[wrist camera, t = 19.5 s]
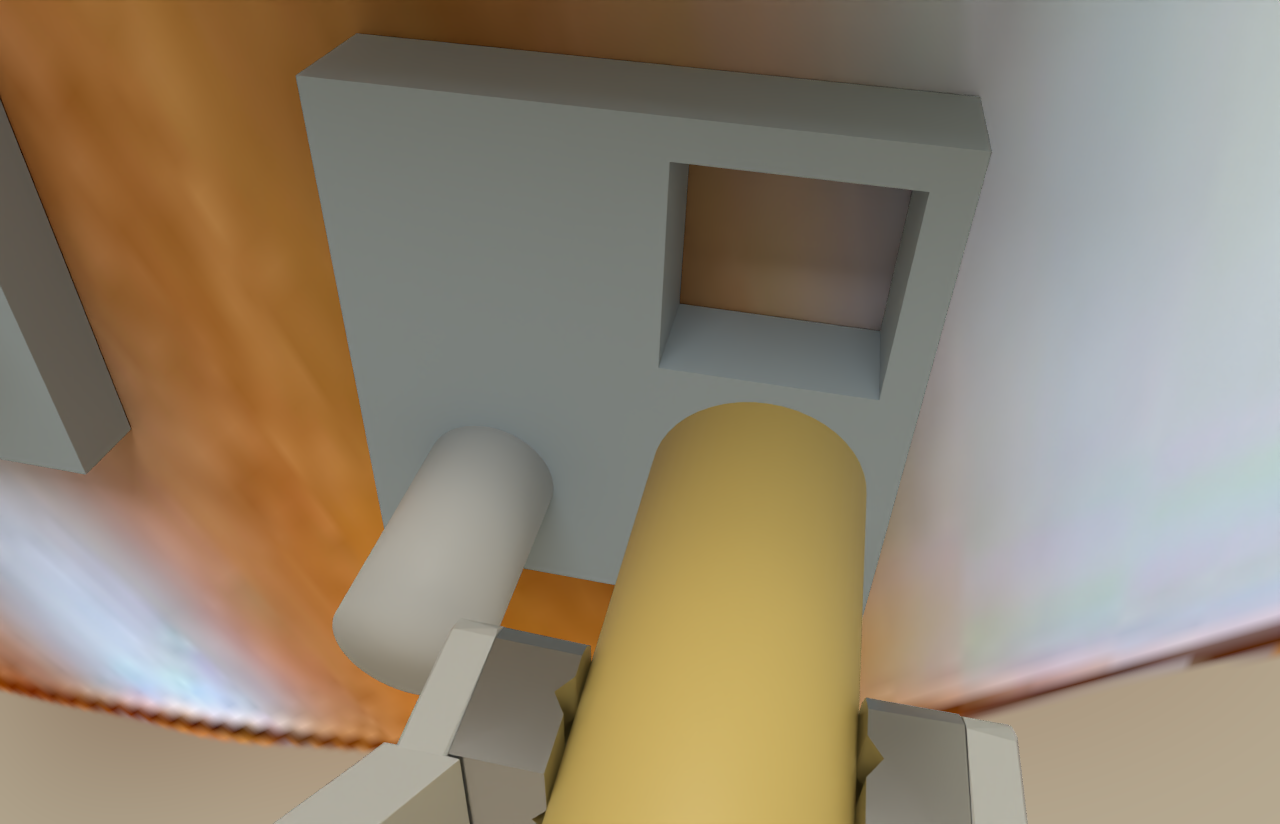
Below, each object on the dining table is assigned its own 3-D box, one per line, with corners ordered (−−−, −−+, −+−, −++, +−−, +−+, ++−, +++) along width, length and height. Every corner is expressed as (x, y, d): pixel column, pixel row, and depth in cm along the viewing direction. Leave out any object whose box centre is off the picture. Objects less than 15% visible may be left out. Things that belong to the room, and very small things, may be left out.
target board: (424, 479, 26) (292, 708, 20) (356, 33, 19) (119, 197, 13) (861, 554, 25) (852, 826, 19) (979, 97, 17) (1026, 318, 11)
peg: (648, 543, 14) (463, 1197, 8) (655, 386, 13) (424, 1081, 6) (847, 579, 14) (807, 1295, 8) (885, 421, 12) (875, 1203, 6)
